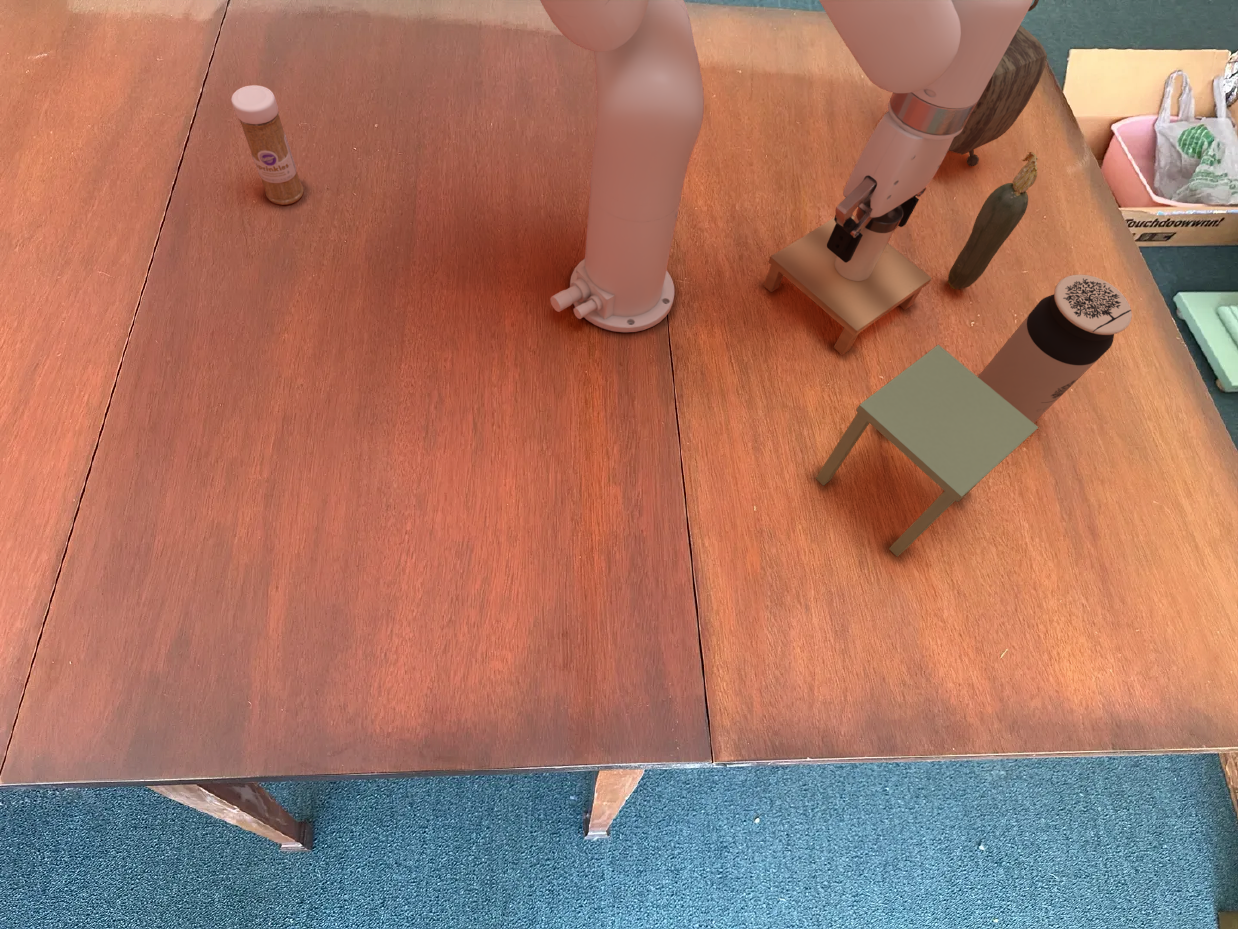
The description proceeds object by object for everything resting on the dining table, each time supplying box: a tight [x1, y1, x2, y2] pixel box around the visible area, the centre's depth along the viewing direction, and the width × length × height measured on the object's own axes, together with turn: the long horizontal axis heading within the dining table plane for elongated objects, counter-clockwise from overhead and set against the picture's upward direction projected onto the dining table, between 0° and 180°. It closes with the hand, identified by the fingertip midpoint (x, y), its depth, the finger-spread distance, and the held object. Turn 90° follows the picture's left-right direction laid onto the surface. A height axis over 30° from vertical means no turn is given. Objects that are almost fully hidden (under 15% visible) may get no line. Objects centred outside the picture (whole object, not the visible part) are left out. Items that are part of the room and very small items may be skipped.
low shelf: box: [763, 214, 933, 356], centre depth 95 cm, size 14×14×5 cm
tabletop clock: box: [948, 0, 1048, 167], centre depth 103 cm, size 14×9×25 cm, turn 34°
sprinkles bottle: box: [230, 84, 305, 206], centre depth 91 cm, size 5×5×14 cm
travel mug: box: [977, 274, 1133, 424], centre depth 83 cm, size 8×8×18 cm
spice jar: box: [834, 198, 903, 281], centre depth 89 cm, size 5×5×9 cm
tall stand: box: [815, 344, 1039, 558], centre depth 78 cm, size 12×12×14 cm
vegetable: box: [947, 151, 1039, 290], centre depth 91 cm, size 4×4×20 cm
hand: (865, 236), depth 89 cm, fingers open, 9 cm apart
